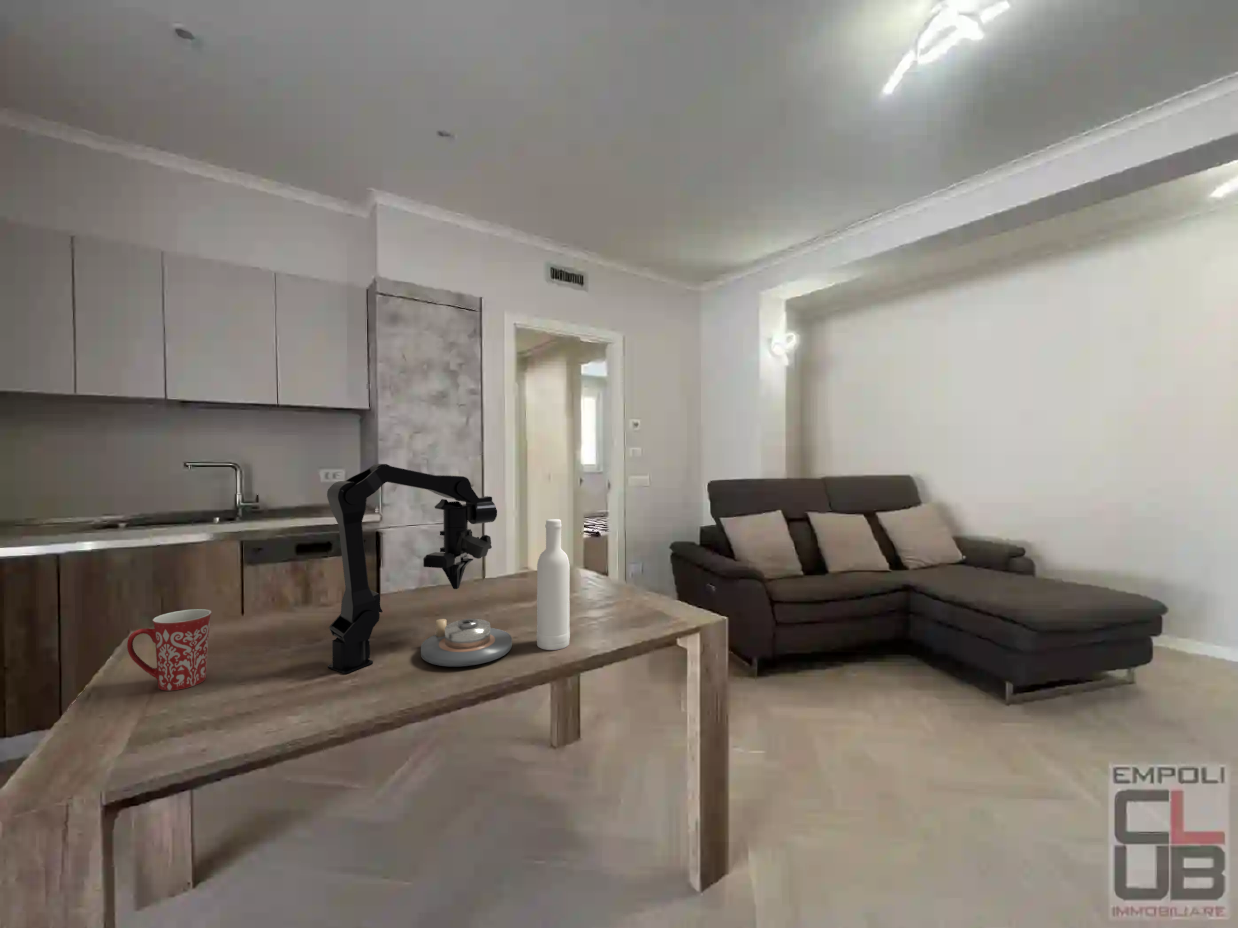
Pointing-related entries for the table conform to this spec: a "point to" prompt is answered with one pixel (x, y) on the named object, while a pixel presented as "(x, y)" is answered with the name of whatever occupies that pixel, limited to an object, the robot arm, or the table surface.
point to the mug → (177, 648)
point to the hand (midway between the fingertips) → (456, 588)
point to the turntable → (445, 656)
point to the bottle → (553, 591)
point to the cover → (467, 634)
